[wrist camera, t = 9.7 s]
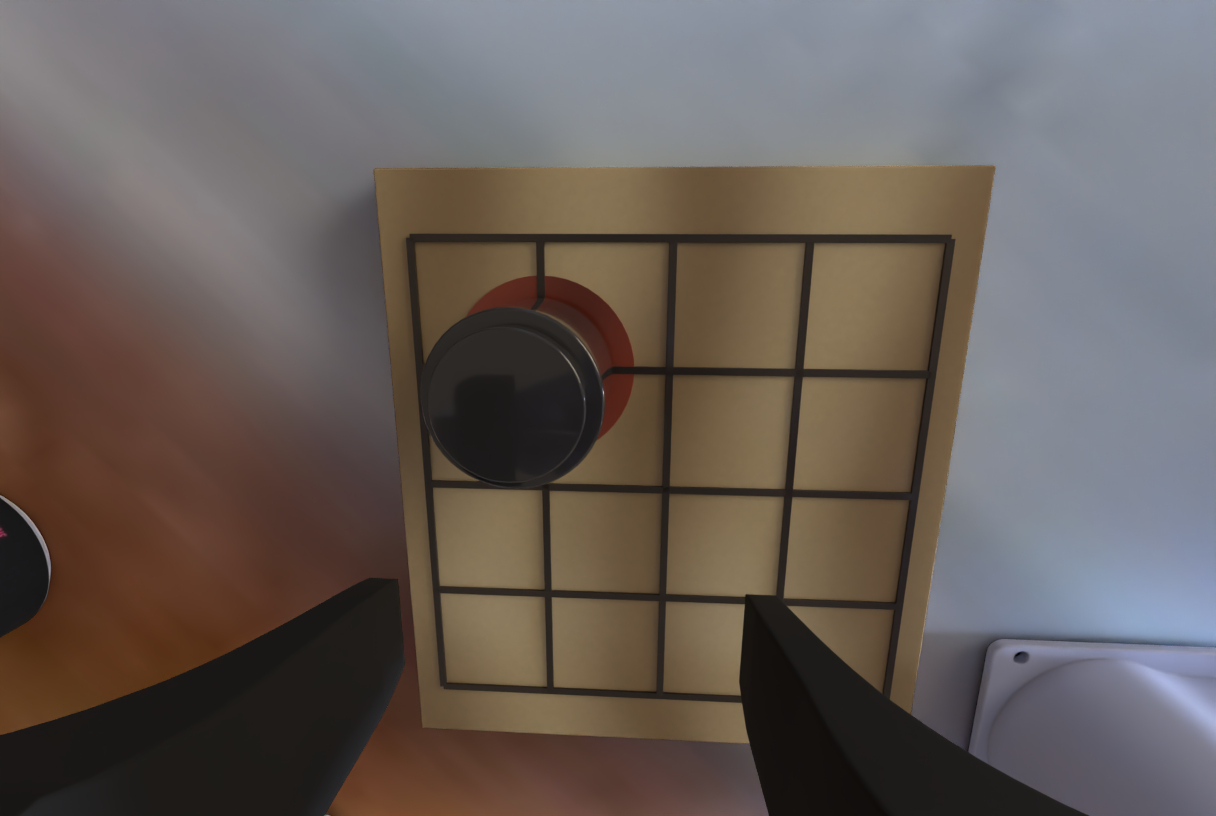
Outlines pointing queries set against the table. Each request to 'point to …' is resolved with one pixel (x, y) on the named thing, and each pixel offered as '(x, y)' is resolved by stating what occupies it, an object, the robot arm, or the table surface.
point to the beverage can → (21, 567)
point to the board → (685, 431)
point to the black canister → (517, 392)
